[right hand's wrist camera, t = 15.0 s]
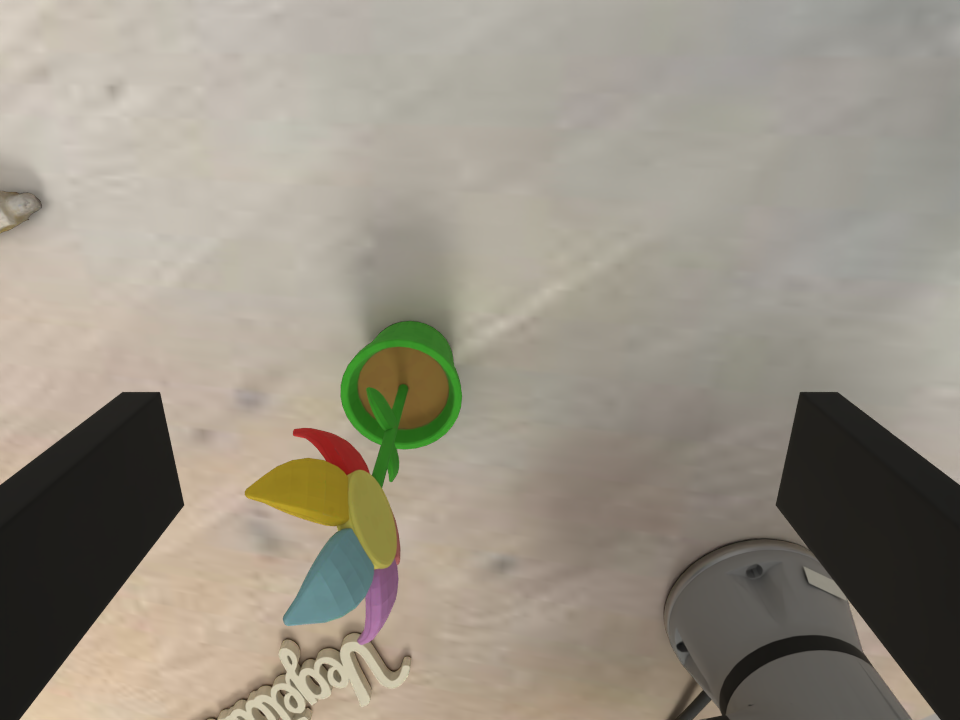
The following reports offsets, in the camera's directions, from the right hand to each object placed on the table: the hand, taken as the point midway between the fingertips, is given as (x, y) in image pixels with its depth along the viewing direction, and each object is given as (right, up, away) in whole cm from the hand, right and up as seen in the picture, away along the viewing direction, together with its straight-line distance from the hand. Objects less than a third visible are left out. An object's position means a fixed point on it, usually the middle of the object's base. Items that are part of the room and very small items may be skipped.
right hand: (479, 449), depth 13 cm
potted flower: (-5, +2, +33) cm, 33 cm away
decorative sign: (-19, -30, +45) cm, 58 cm away
